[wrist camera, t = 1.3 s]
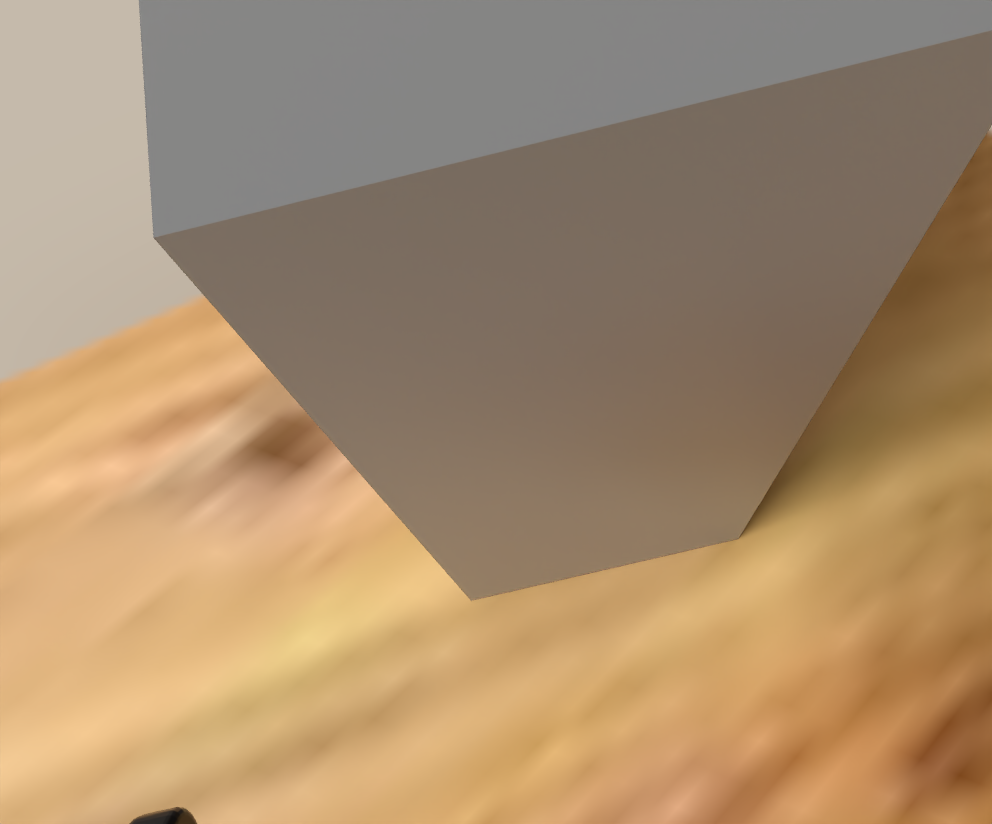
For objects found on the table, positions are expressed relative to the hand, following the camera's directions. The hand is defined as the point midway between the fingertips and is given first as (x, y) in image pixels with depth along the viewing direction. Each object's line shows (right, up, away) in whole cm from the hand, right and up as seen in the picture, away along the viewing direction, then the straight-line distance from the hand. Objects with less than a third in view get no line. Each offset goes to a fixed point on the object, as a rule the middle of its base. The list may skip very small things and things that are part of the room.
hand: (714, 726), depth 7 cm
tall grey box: (0, +2, +15) cm, 15 cm away
